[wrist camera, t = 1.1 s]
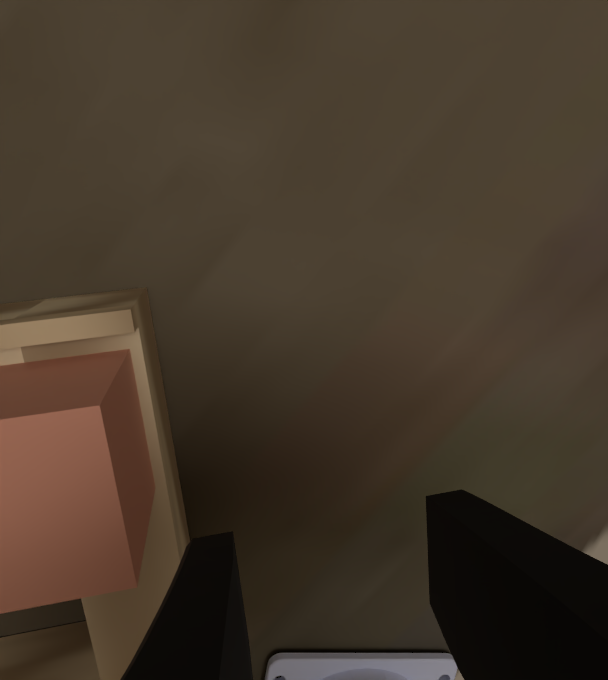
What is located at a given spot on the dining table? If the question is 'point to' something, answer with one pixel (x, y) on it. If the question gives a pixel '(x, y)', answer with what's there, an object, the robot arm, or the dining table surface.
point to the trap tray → (168, 508)
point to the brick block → (71, 479)
